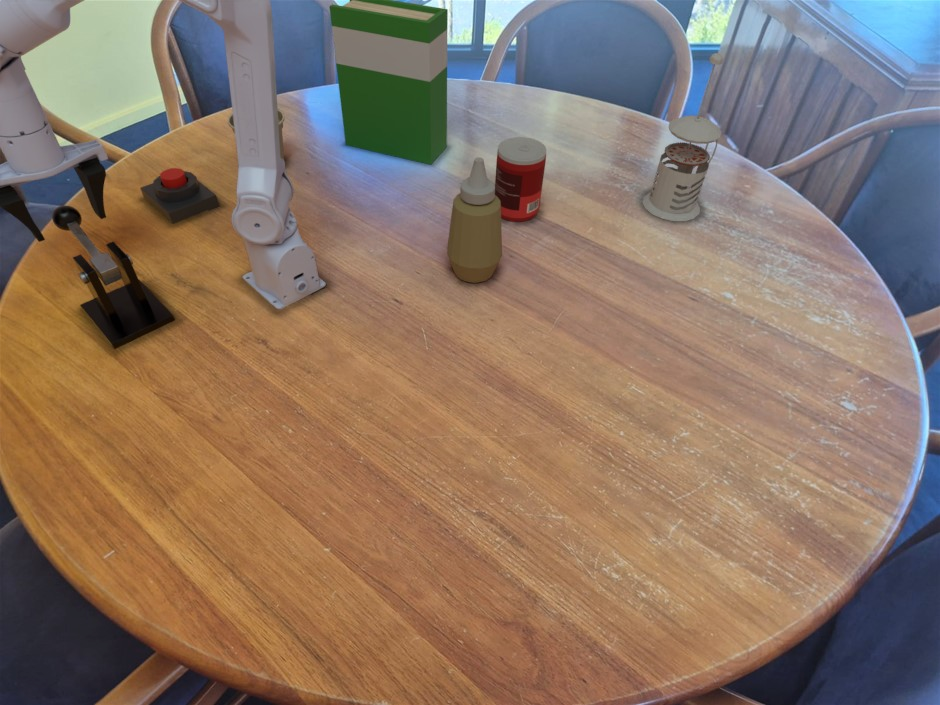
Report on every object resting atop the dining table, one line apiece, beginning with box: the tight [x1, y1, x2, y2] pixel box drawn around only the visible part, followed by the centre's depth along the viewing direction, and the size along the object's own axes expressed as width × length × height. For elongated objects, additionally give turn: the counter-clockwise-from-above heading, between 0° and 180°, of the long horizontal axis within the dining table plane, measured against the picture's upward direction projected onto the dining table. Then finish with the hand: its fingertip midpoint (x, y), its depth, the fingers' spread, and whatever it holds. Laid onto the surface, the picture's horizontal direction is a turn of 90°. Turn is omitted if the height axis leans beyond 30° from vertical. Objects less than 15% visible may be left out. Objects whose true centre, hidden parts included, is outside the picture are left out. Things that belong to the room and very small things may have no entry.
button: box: [159, 167, 187, 188], centre depth 99 cm, size 4×4×2 cm
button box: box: [140, 170, 220, 225], centre depth 100 cm, size 10×8×4 cm
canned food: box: [494, 136, 547, 223], centre depth 100 cm, size 8×8×11 cm
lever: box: [51, 204, 123, 286], centre depth 78 cm, size 13×3×3 cm, turn 44°
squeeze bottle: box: [446, 156, 503, 283], centre depth 85 cm, size 8×8×18 cm
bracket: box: [72, 241, 176, 350], centre depth 79 cm, size 10×8×10 cm
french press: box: [641, 52, 724, 222], centre depth 98 cm, size 10×12×25 cm
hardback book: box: [329, 0, 449, 165], centre depth 109 cm, size 18×7×24 cm, turn 69°
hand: (70, 226), depth 81 cm, fingers open, 7 cm apart
